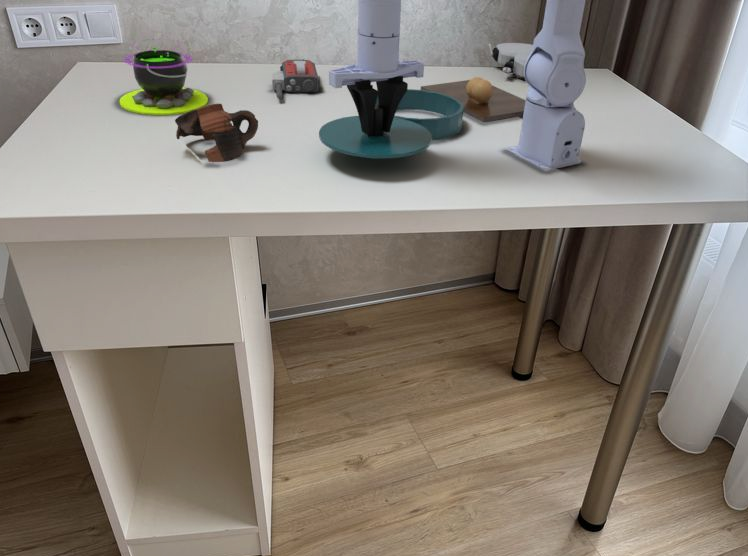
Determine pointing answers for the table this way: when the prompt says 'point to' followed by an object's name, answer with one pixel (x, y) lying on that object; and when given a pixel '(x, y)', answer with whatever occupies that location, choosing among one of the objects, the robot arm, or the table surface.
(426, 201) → the table surface
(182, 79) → the toy cauldron
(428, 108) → the teal bowl
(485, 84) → the potato
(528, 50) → the robot toy
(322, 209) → the table surface
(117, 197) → the table surface
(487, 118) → the board
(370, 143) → the teal disc
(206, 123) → the broken mug
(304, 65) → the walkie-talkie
